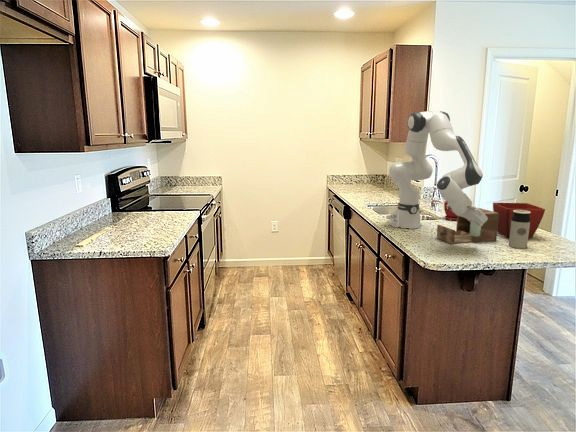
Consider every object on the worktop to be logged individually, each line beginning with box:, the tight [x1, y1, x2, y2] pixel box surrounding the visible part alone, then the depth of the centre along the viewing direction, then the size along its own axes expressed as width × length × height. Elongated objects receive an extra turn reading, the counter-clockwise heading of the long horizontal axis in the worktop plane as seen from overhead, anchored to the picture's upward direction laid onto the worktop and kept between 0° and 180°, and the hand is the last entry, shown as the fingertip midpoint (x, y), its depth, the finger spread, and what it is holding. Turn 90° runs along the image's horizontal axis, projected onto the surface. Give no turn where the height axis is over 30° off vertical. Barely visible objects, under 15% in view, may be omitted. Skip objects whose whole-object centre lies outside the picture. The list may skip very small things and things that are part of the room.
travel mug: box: [508, 210, 531, 249], centre depth 197 cm, size 8×8×18 cm
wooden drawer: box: [436, 224, 473, 245], centre depth 209 cm, size 13×16×7 cm
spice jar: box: [469, 220, 481, 236], centre depth 194 cm, size 5×5×11 cm
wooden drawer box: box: [455, 207, 499, 244], centre depth 212 cm, size 14×14×15 cm
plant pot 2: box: [492, 202, 546, 239], centre depth 218 cm, size 19×19×17 cm
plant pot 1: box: [443, 201, 458, 222], centre depth 259 cm, size 13×13×12 cm
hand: (477, 223), depth 194 cm, fingers closed on spice jar, 5 cm apart
